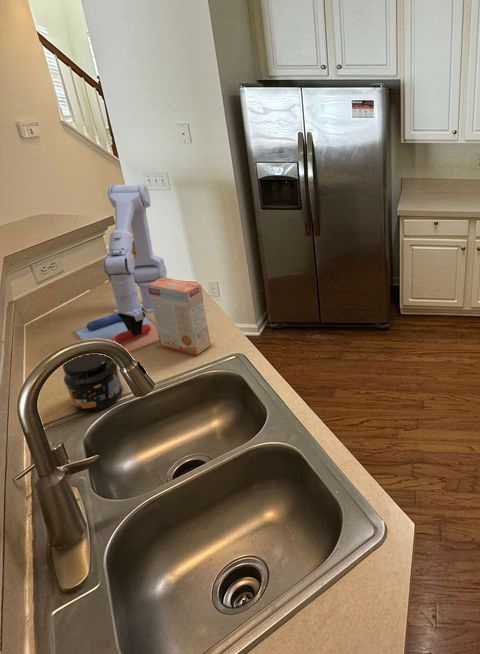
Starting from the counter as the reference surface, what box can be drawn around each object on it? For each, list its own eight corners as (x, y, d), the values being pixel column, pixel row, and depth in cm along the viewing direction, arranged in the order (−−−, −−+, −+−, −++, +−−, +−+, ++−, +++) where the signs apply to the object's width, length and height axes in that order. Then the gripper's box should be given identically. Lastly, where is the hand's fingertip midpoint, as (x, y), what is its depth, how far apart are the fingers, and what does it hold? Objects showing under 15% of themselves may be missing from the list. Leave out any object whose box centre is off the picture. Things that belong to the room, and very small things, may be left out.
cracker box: (212, 345, 130) (201, 283, 122) (197, 356, 125) (185, 292, 117) (175, 336, 134) (163, 275, 127) (159, 346, 129) (146, 283, 121)
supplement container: (61, 410, 104) (48, 368, 99) (100, 382, 113) (88, 344, 109) (98, 418, 101) (85, 376, 97) (133, 389, 111) (123, 350, 107)
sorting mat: (137, 311, 148) (137, 310, 148) (169, 336, 134) (168, 335, 134) (75, 332, 135) (74, 331, 135) (103, 363, 121) (102, 361, 121)
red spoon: (148, 328, 137) (146, 320, 136) (154, 333, 134) (152, 325, 133) (101, 345, 127) (99, 337, 126) (107, 351, 124) (104, 343, 123)
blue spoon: (90, 334, 134) (88, 326, 132) (85, 328, 136) (83, 321, 135) (135, 318, 143) (134, 310, 142) (130, 313, 146) (128, 306, 145)
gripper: (101, 290, 128) (111, 329, 133) (120, 305, 119) (130, 347, 124) (127, 282, 133) (136, 320, 138) (147, 297, 125) (156, 337, 130)
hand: (135, 332), depth 132 cm, fingers closed on red spoon, 3 cm apart
